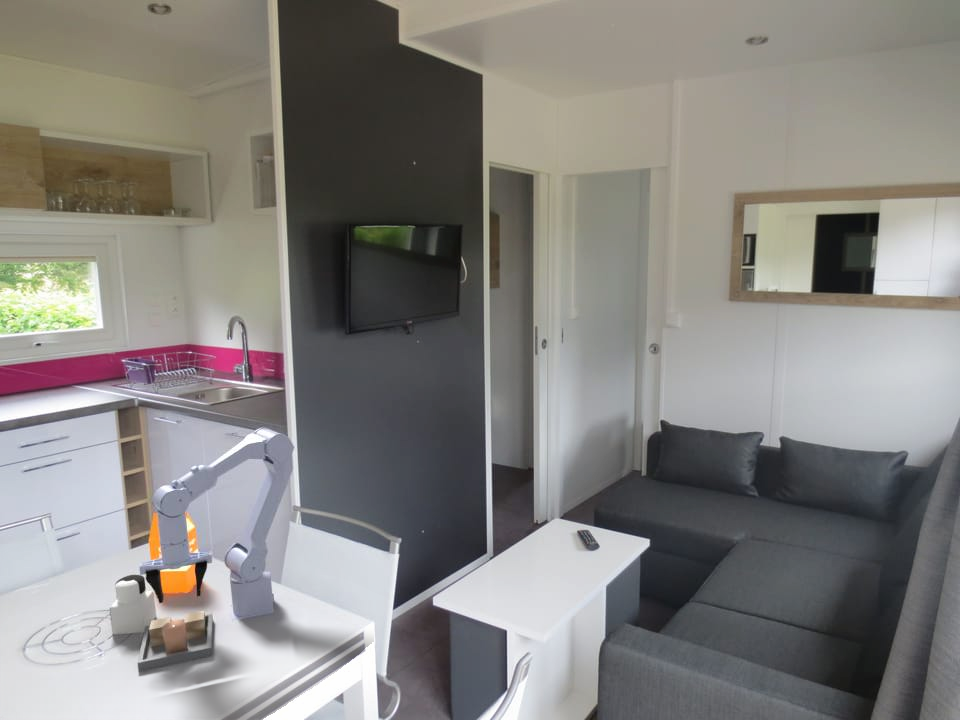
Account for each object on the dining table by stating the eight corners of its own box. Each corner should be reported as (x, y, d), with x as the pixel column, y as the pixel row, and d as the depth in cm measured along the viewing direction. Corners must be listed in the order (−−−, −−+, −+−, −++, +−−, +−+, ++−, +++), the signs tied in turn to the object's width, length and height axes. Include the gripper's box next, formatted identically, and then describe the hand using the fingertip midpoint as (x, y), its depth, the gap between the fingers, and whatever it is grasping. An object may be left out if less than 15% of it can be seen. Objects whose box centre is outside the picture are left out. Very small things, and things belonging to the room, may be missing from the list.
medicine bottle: (125, 620, 161) (120, 572, 159) (157, 618, 161) (151, 570, 159) (112, 636, 154) (106, 587, 152) (145, 634, 154) (139, 585, 152)
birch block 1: (172, 633, 153) (170, 616, 152) (171, 642, 149) (169, 625, 149) (153, 637, 152) (151, 620, 151) (151, 646, 148) (149, 629, 147)
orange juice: (188, 593, 173) (180, 518, 170) (153, 593, 173) (145, 519, 170) (201, 578, 180) (194, 506, 177) (168, 579, 181) (160, 507, 178)
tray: (213, 623, 158) (212, 613, 158) (211, 658, 144) (210, 647, 144) (146, 636, 153) (145, 626, 153) (138, 674, 139) (137, 662, 139)
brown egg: (187, 642, 149) (184, 617, 148) (188, 653, 145) (185, 627, 144) (165, 648, 147) (162, 623, 146) (165, 659, 143) (162, 633, 142)
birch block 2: (205, 626, 155) (204, 610, 155) (205, 635, 152) (203, 619, 151) (186, 630, 154) (185, 614, 153) (185, 639, 150) (184, 622, 150)
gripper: (135, 553, 143) (142, 613, 145) (209, 541, 148) (214, 599, 150) (139, 540, 149) (145, 597, 152) (210, 529, 154) (215, 585, 156)
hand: (180, 597), depth 151 cm, fingers open, 7 cm apart
